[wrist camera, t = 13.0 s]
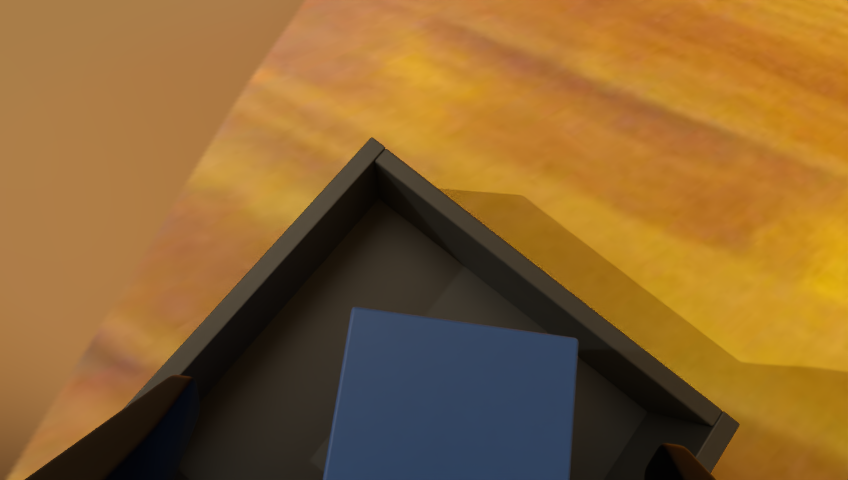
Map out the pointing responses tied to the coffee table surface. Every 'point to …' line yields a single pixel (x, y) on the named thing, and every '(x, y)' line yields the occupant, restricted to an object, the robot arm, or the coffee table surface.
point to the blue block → (451, 401)
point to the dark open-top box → (417, 295)
